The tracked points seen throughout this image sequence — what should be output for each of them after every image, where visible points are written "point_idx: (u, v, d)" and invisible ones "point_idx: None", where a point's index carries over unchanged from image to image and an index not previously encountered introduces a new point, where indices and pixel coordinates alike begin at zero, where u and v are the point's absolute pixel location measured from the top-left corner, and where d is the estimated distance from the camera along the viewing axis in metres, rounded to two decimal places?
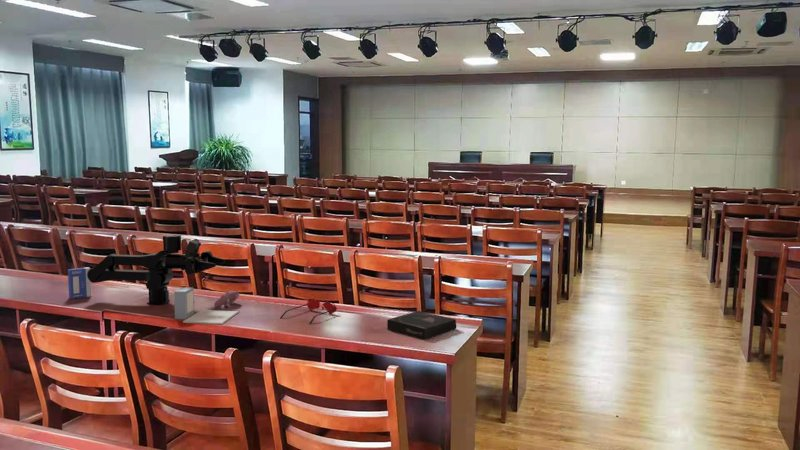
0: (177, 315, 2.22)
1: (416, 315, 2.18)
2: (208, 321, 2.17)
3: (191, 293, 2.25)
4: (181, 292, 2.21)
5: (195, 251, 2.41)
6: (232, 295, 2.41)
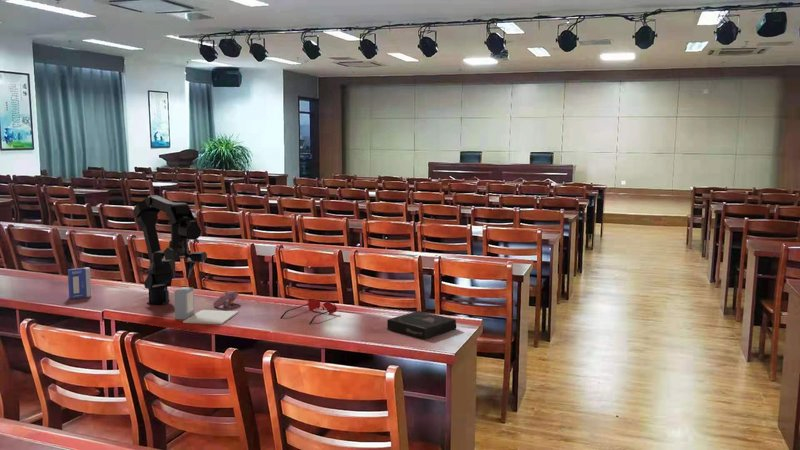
0: (177, 315, 2.22)
1: (416, 315, 2.18)
2: (208, 321, 2.17)
3: (191, 293, 2.25)
4: (181, 292, 2.21)
5: None
6: (231, 295, 2.41)
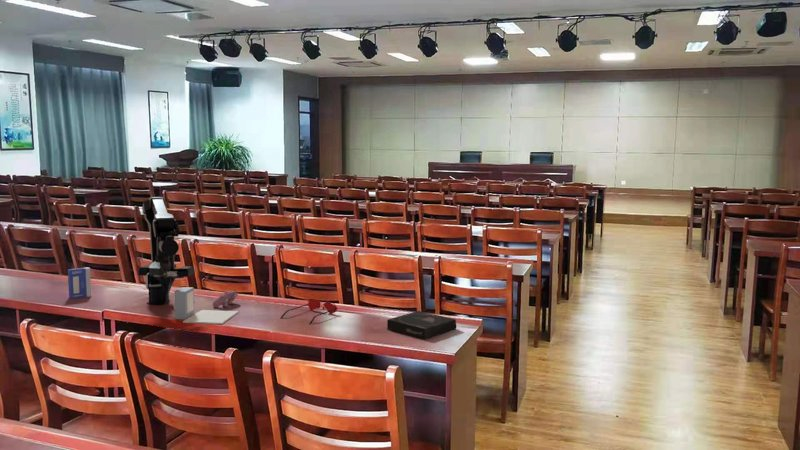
0: (177, 315, 2.22)
1: (416, 315, 2.18)
2: (208, 321, 2.17)
3: (191, 293, 2.25)
4: (181, 292, 2.21)
5: None
6: (230, 295, 2.41)
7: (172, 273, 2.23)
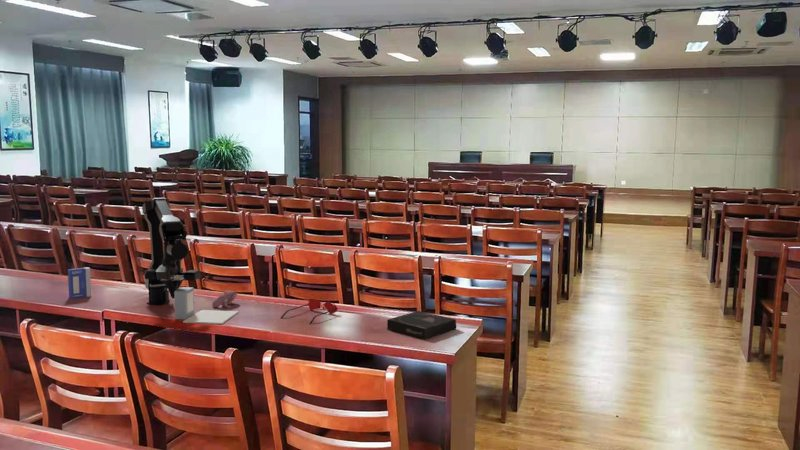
0: (177, 315, 2.22)
1: (416, 315, 2.18)
2: (208, 321, 2.17)
3: (191, 293, 2.25)
4: (181, 292, 2.21)
5: None
6: (230, 295, 2.41)
7: (179, 277, 2.23)
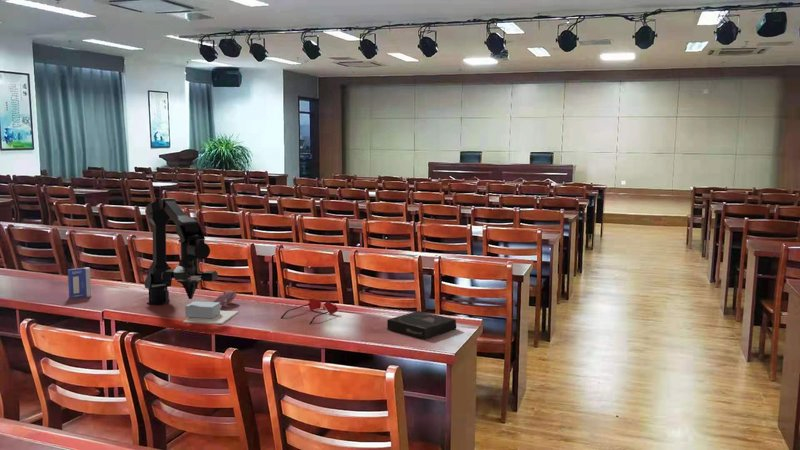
0: (188, 308, 2.21)
1: (416, 315, 2.18)
2: (208, 321, 2.17)
3: None
4: (211, 314, 2.21)
5: None
6: (229, 295, 2.42)
7: (196, 277, 2.22)
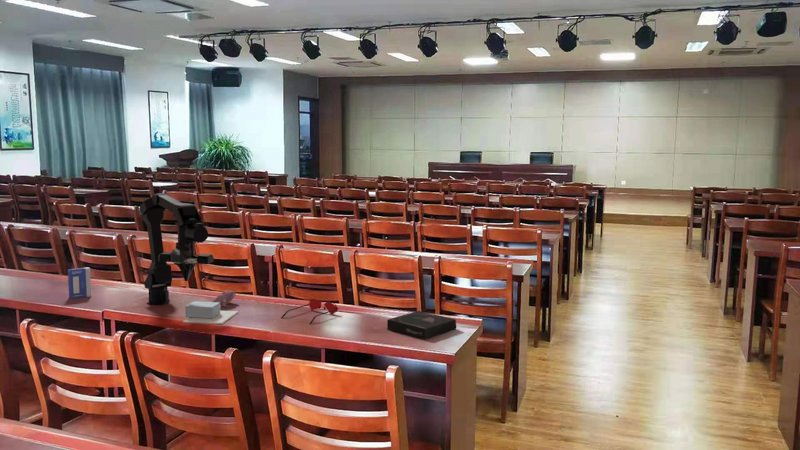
0: (188, 308, 2.21)
1: (416, 315, 2.18)
2: (208, 321, 2.17)
3: None
4: (211, 314, 2.21)
5: None
6: (229, 295, 2.42)
7: (192, 260, 2.27)
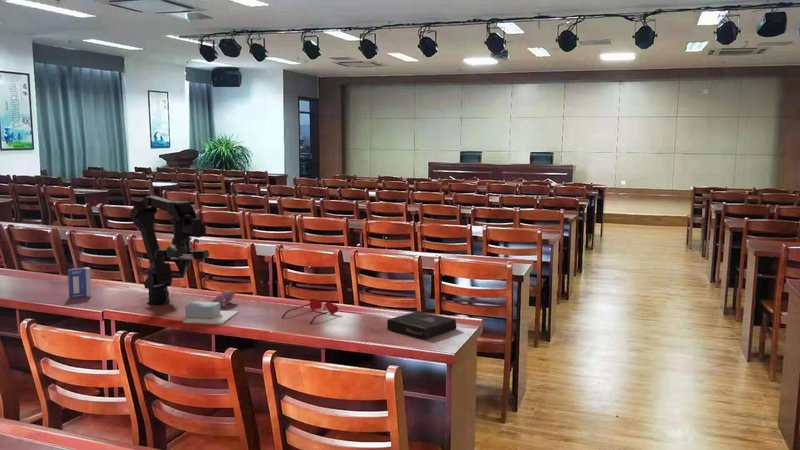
0: (188, 308, 2.21)
1: (416, 315, 2.18)
2: (208, 321, 2.17)
3: None
4: (211, 314, 2.21)
5: None
6: (228, 295, 2.42)
7: (188, 256, 2.32)
